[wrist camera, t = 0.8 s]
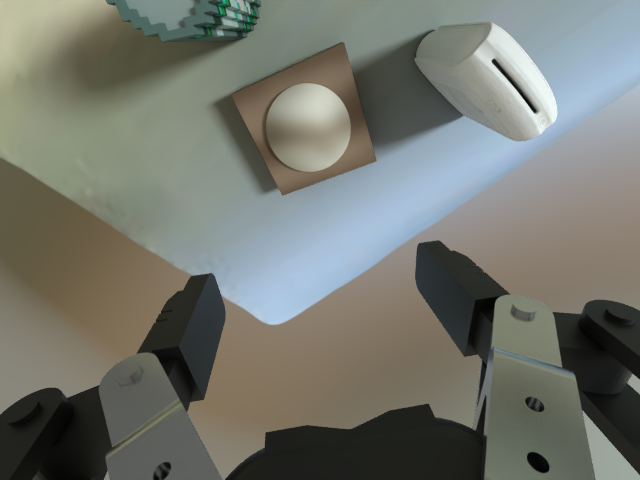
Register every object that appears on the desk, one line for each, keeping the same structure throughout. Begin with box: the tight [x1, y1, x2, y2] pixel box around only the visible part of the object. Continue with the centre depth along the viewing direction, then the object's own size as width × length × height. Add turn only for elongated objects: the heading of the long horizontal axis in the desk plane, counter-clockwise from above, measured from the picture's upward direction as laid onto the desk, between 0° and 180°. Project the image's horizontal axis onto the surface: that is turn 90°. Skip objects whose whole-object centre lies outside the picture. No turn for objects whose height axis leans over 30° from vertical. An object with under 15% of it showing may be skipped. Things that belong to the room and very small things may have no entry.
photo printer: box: [414, 22, 557, 141], centre depth 25 cm, size 10×4×12 cm, turn 53°
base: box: [231, 42, 376, 196], centre depth 31 cm, size 12×12×4 cm
